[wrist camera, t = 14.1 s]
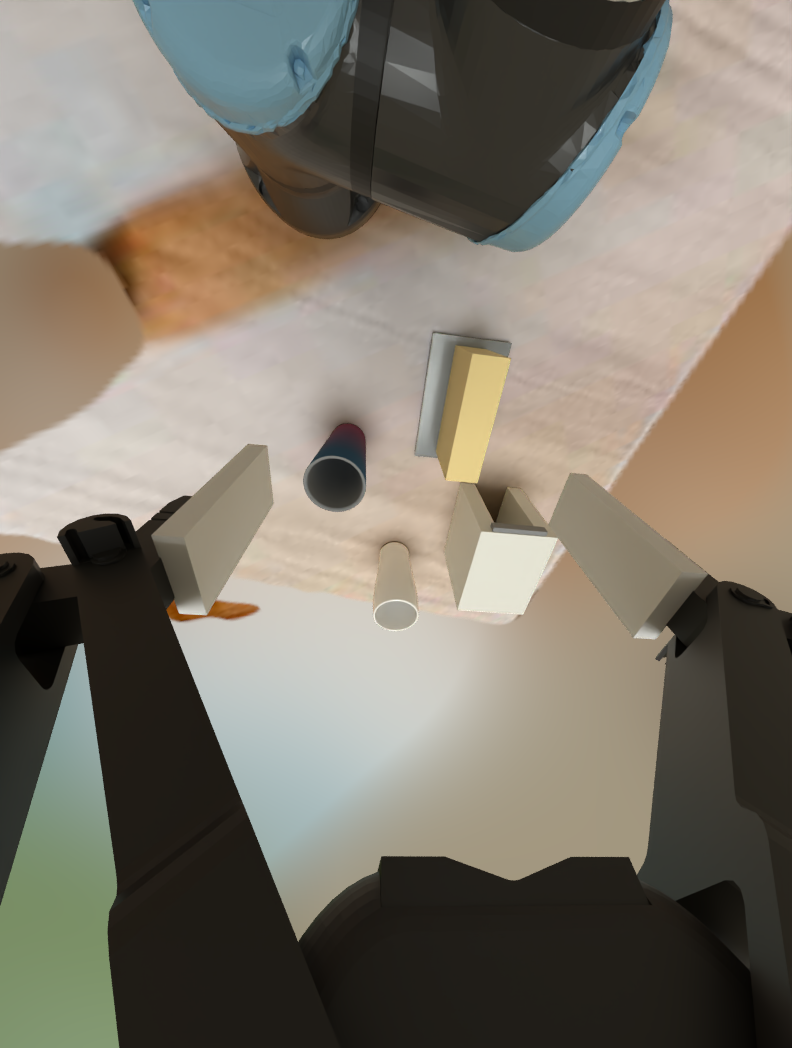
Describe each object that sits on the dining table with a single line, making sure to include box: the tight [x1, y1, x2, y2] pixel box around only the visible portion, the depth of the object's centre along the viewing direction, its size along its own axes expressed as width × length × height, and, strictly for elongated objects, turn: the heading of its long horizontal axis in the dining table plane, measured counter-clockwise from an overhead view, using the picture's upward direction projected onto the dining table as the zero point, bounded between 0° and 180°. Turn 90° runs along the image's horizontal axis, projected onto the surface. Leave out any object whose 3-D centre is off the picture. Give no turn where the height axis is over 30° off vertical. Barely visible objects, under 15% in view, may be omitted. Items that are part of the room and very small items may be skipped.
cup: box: [303, 423, 366, 512], centre depth 42 cm, size 7×7×15 cm
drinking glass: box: [373, 542, 419, 631], centre depth 54 cm, size 7×7×15 cm
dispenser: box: [444, 483, 558, 614], centre depth 51 cm, size 15×10×14 cm
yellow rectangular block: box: [436, 345, 511, 483], centre depth 41 cm, size 14×4×10 cm, turn 173°
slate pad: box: [415, 333, 512, 458], centre depth 46 cm, size 16×10×1 cm, turn 173°
